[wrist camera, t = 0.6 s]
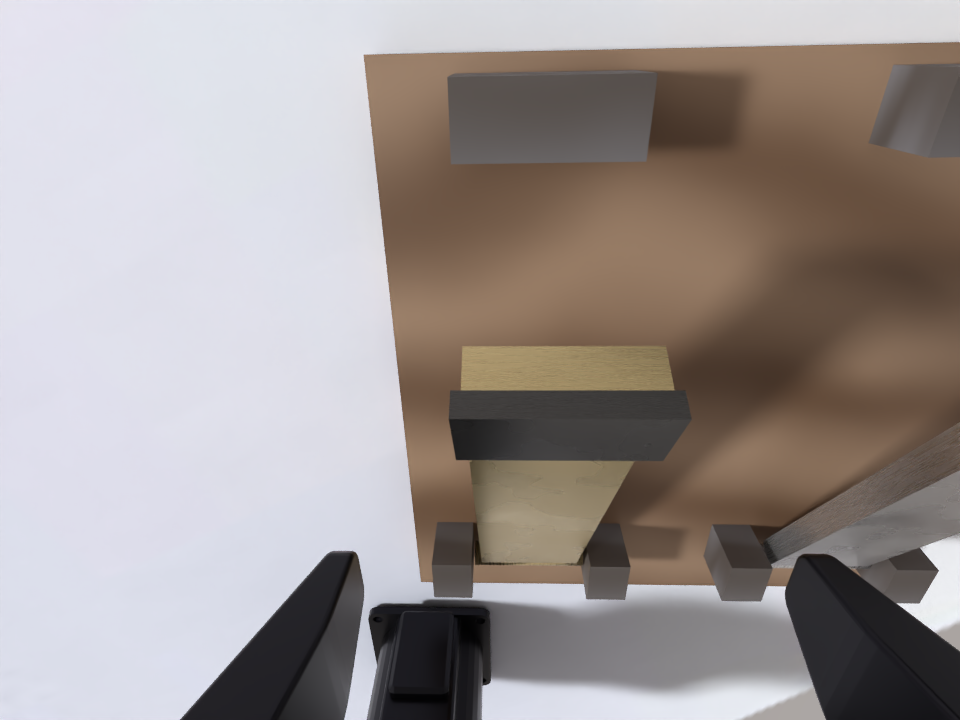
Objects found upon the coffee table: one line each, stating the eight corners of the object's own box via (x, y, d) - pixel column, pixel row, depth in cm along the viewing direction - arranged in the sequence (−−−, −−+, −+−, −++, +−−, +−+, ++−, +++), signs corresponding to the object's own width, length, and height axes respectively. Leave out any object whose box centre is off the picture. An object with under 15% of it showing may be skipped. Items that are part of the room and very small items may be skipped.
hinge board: (871, 561, 26) (928, 638, 23) (424, 556, 27) (414, 630, 24) (1133, 38, 15) (1317, 34, 12) (374, 54, 16) (341, 55, 13)
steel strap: (852, 547, 24) (866, 586, 23) (746, 546, 24) (756, 584, 23) (1324, 344, 10) (1399, 420, 9) (1071, 344, 10) (1123, 420, 9)
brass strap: (578, 544, 24) (581, 582, 23) (476, 543, 24) (475, 581, 23) (681, 345, 11) (697, 419, 10) (447, 346, 11) (442, 418, 10)
